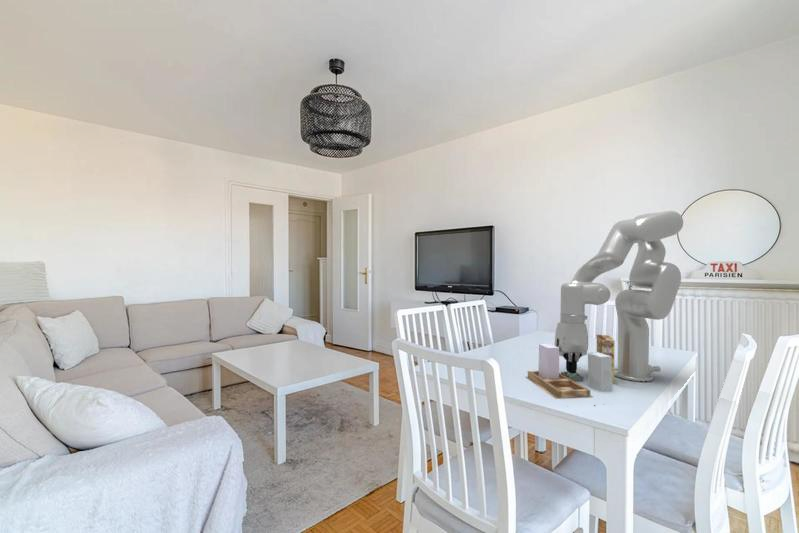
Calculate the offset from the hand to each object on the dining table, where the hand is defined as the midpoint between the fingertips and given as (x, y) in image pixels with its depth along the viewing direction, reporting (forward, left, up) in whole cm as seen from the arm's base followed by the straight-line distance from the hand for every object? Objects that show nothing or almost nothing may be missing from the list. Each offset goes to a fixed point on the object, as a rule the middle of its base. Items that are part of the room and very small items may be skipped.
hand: (571, 372), depth 126 cm
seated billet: (+9, +1, -2) cm, 9 cm away
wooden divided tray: (+9, +6, -4) cm, 11 cm away
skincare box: (-4, +9, -4) cm, 11 cm away
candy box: (-13, -1, -4) cm, 14 cm away
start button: (0, 0, -2) cm, 3 cm away
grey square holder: (0, 0, -4) cm, 4 cm away
